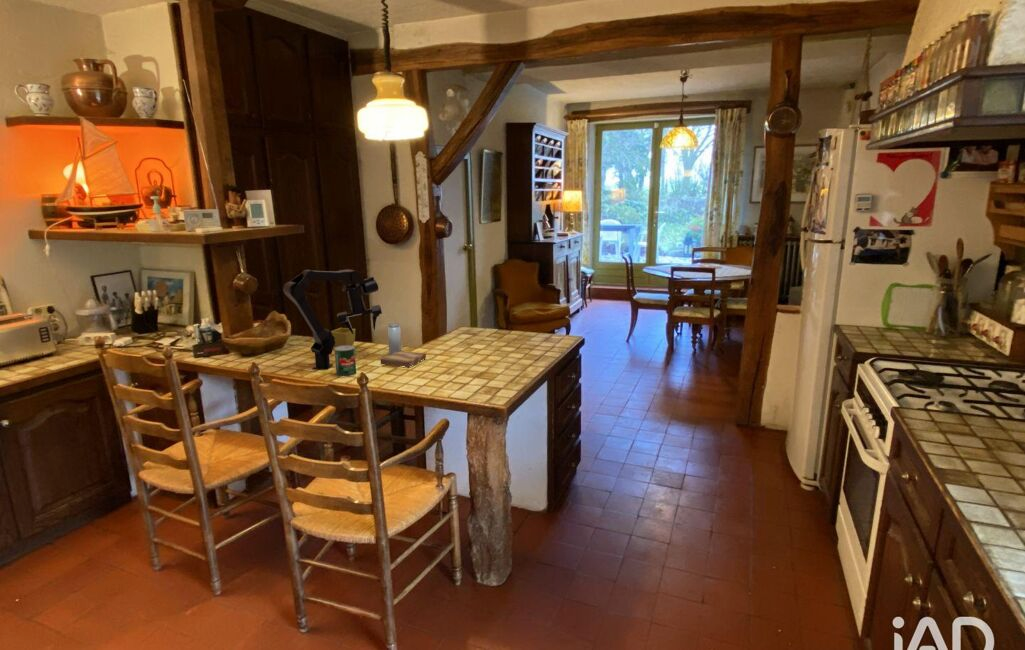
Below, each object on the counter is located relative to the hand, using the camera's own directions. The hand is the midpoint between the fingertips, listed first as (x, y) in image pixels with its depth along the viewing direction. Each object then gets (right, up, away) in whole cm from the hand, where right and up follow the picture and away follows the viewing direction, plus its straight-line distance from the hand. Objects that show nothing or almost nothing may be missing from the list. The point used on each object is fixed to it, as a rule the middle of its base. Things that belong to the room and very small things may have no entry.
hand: (363, 331), depth 251 cm
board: (+18, -13, -3) cm, 23 cm away
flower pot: (-14, -8, +19) cm, 25 cm away
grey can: (+12, -10, +9) cm, 18 cm away
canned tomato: (-2, -17, -19) cm, 26 cm away
